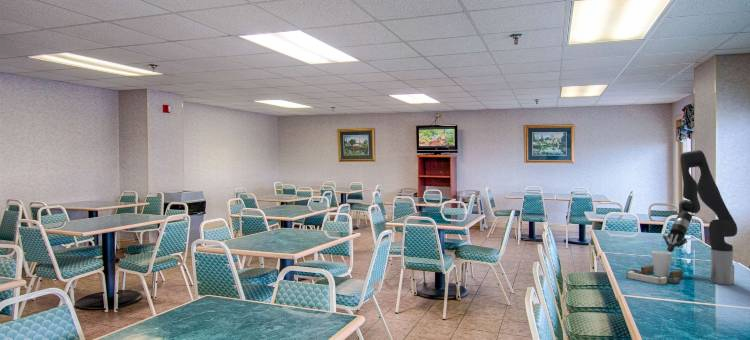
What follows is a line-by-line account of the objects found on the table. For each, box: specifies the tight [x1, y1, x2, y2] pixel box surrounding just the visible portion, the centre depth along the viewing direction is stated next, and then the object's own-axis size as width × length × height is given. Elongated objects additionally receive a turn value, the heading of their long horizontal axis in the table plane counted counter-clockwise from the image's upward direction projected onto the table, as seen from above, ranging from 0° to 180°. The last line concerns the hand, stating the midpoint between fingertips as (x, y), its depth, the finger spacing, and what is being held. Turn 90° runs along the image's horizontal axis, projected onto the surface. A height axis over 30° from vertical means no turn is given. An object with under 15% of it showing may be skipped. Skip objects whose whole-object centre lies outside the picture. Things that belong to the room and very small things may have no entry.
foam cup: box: [651, 250, 673, 278], centre depth 261 cm, size 10×9×13 cm
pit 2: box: [666, 275, 681, 285], centre depth 248 cm, size 6×6×2 cm
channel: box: [640, 264, 683, 279], centre depth 261 cm, size 17×10×4 cm, turn 34°
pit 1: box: [627, 268, 643, 275], centre depth 263 cm, size 6×6×2 cm
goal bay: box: [625, 271, 668, 285], centre depth 252 cm, size 18×6×3 cm, turn 34°
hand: (669, 250), depth 267 cm, fingers closed
